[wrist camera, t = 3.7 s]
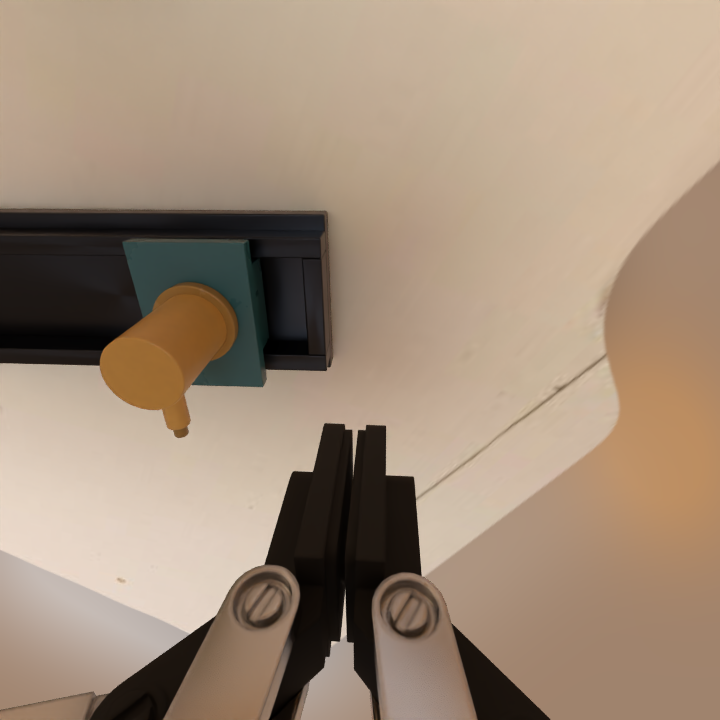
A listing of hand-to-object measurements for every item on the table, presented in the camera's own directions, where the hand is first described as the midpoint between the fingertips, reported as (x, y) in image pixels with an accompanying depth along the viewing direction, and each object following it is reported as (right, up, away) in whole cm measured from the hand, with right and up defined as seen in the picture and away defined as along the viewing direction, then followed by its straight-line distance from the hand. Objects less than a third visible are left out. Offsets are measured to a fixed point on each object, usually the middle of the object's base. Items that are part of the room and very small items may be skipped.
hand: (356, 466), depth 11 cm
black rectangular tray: (-14, +7, +13) cm, 20 cm away
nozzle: (-8, +6, +12) cm, 15 cm away
